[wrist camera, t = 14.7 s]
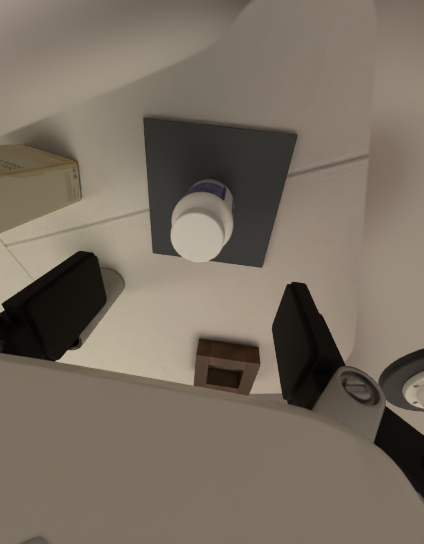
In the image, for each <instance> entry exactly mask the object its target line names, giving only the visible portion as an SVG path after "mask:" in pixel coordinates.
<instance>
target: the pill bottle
mask: <svg viewBox="0 0 424 544" xmlns="http://www.w3.org/2000/svg"><path fill="white" fill-rule="evenodd" d="M233 221H234V201H233V197H232V194H231V192H230V191H229V189H228V188H227V187H226V186H225V185H224V184H222V183H221V182H219V181H216V180H210V179H207V180H202V181H199V182H197V183H196V184H194V185H193V186H192V187H191V188H190V189H189V190H188V192H187V193H186V194H185V195H184V196H183V198H182V199H181V200H180V201H179V202H178V204H177V205H176V207H175V209H174V211H173V214H172V229H171V242H172V245H173V247H174V249H175V250H176V251H177V252H178V254H179V255H181V256H182V257H183V258H185V259H187V260H189V261H193V262H206V261H209V260H211V259H213V258H215V257H216V256H217V255H218V254H219V252H220V251H221V249H222V247H223V246H224V245H225V244H226V243H227V242H228V240H229V239H230V237H231V234H232V231H233Z"/></svg>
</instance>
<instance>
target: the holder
mask: <svg viewBox="0 0 424 544" xmlns="http://www.w3.org/2000/svg"><path fill="white" fill-rule="evenodd" d="M209 365H212V366H219V367H226V368H232V369H239V371H238V372H233V371H227V370H220V369H214V368H208V367H209ZM259 367H260V355H259V348H258V347H252V346H245V345H238V344H231V343H224V342H218V341H210V340H204V339H199V343H198V348H197V354H196V364H195V376H194V386H197V387H203V388H208V389H214V390H220V391H225V392H231V393H236V394H241V395H246V396H249V393H250V391H251V388H252V385H253V383H254V380H255V377H256V375H257V372H258V370H259Z"/></svg>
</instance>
